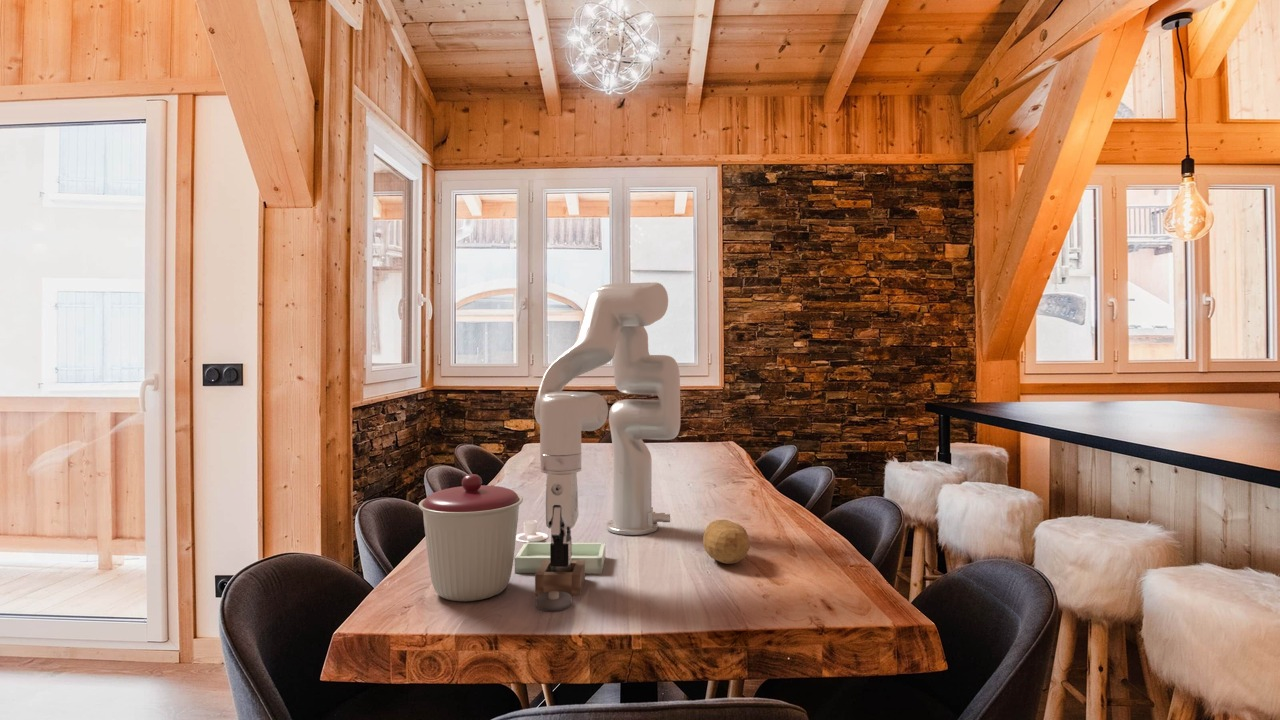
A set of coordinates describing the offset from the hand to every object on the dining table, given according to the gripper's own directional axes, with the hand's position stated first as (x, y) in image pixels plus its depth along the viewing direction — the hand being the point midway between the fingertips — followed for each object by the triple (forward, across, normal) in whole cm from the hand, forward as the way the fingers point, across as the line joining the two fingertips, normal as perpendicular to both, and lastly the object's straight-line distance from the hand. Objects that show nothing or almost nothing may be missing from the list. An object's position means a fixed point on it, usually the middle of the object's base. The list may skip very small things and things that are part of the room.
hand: (561, 560), depth 117 cm
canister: (+5, -3, +16) cm, 17 cm away
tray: (+5, +12, +2) cm, 13 cm away
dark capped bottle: (+4, 0, 0) cm, 4 cm away
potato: (+5, +15, -32) cm, 36 cm away
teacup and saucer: (+5, +28, +13) cm, 32 cm away
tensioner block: (+5, -4, 0) cm, 6 cm away
